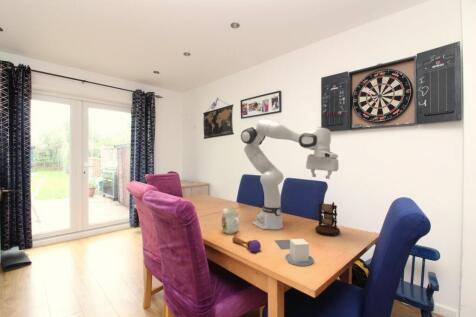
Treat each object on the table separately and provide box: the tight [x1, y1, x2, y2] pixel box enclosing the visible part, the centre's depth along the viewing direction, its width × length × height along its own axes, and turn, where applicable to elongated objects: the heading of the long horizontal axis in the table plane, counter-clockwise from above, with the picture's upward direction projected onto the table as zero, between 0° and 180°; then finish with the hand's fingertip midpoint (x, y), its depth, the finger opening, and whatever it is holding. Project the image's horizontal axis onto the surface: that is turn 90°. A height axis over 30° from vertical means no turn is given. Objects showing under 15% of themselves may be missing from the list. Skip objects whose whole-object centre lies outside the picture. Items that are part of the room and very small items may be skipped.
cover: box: [289, 238, 310, 262], centre depth 110 cm, size 7×7×8 cm
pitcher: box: [221, 208, 240, 235], centre depth 148 cm, size 11×18×14 cm, turn 33°
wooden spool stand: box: [314, 200, 341, 237], centre depth 147 cm, size 15×15×20 cm
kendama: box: [231, 236, 262, 253], centre depth 125 cm, size 6×6×20 cm
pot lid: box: [284, 253, 315, 267], centre depth 110 cm, size 13×13×3 cm
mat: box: [274, 239, 290, 250], centre depth 128 cm, size 13×13×1 cm
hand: (320, 177), depth 137 cm, fingers open, 8 cm apart
